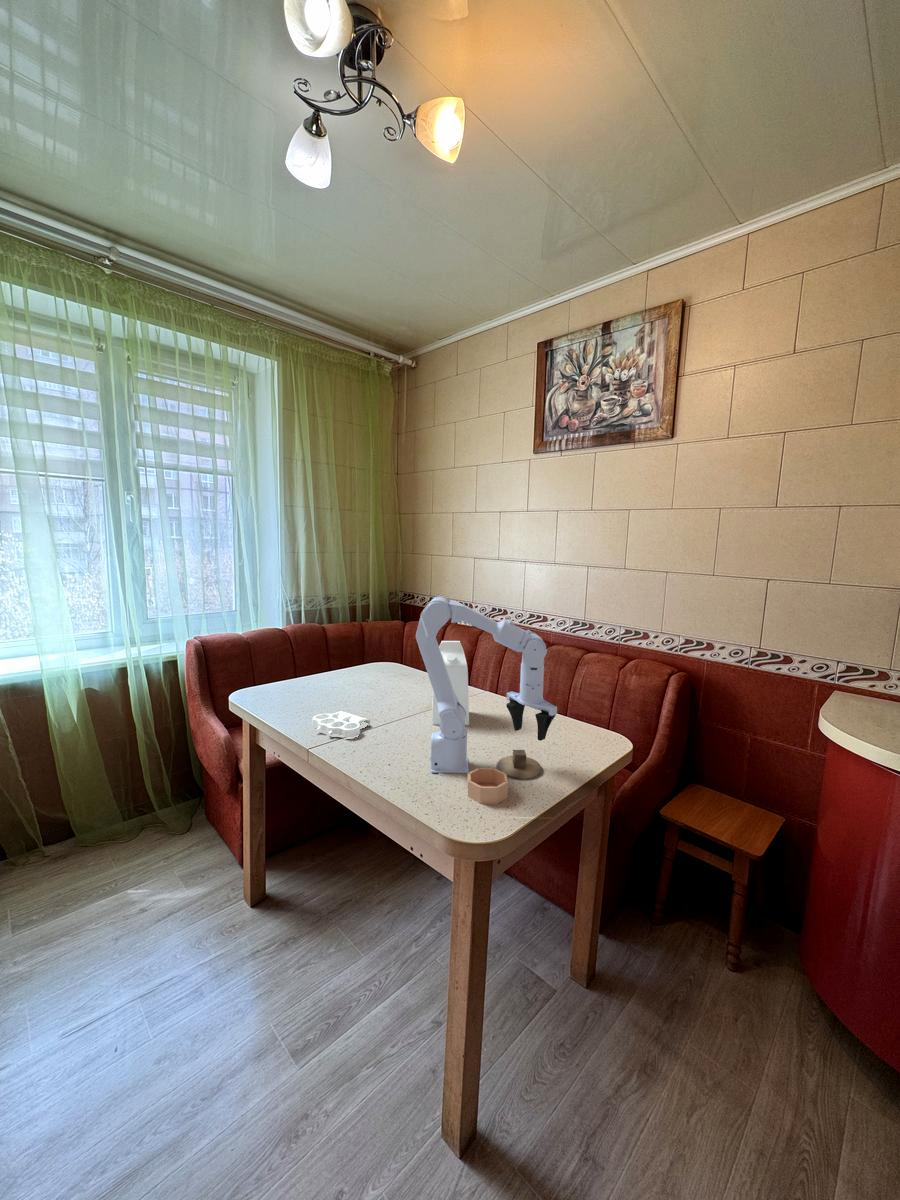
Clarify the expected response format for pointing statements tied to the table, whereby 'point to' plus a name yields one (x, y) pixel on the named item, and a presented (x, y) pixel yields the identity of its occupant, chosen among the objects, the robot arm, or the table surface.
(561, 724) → the table surface
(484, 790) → the bowl
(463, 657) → the milk
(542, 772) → the mat
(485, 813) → the table surface
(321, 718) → the white holed plate
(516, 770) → the lid
